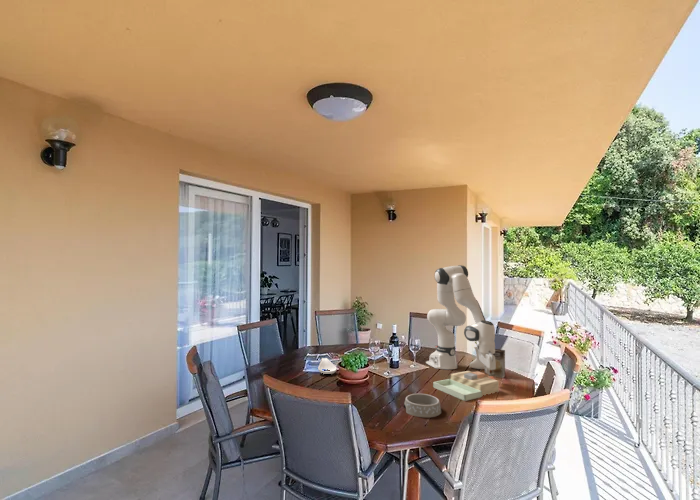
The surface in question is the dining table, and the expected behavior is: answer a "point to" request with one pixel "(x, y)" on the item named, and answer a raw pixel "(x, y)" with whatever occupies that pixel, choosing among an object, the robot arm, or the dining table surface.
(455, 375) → the bench slab
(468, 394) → the tray
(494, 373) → the coffee box
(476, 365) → the flower in vase
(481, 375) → the terracotta tile
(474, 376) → the slate tile
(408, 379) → the dining table surface
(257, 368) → the dining table surface
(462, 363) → the dining table surface
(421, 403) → the dog bowl
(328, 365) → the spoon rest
